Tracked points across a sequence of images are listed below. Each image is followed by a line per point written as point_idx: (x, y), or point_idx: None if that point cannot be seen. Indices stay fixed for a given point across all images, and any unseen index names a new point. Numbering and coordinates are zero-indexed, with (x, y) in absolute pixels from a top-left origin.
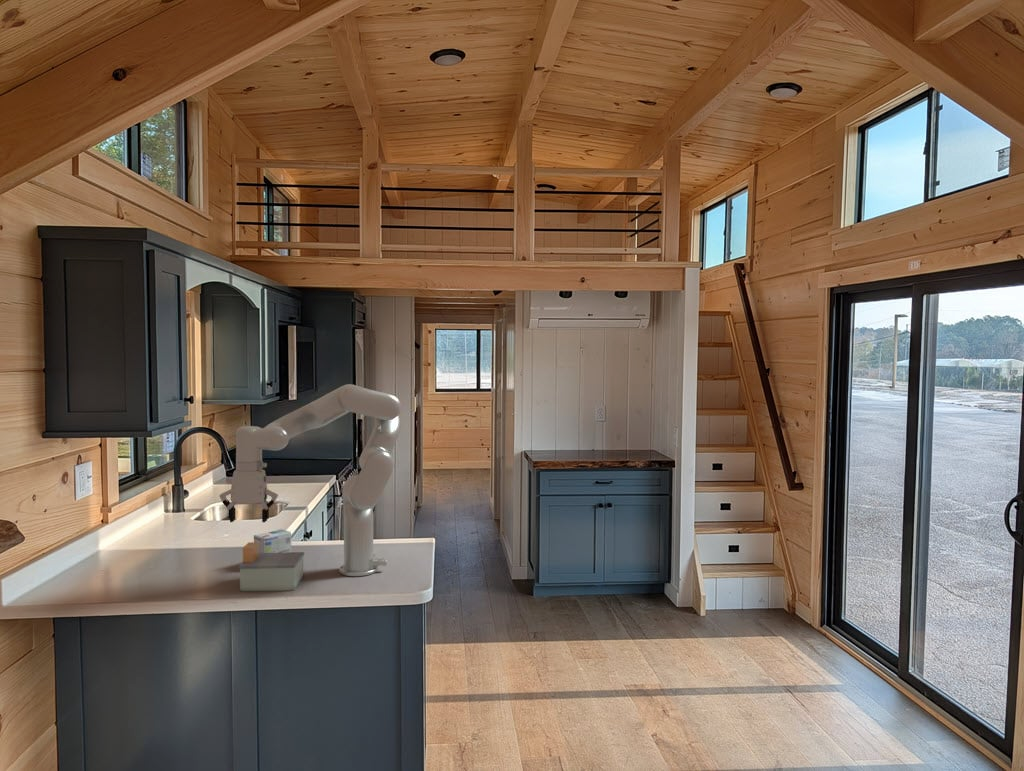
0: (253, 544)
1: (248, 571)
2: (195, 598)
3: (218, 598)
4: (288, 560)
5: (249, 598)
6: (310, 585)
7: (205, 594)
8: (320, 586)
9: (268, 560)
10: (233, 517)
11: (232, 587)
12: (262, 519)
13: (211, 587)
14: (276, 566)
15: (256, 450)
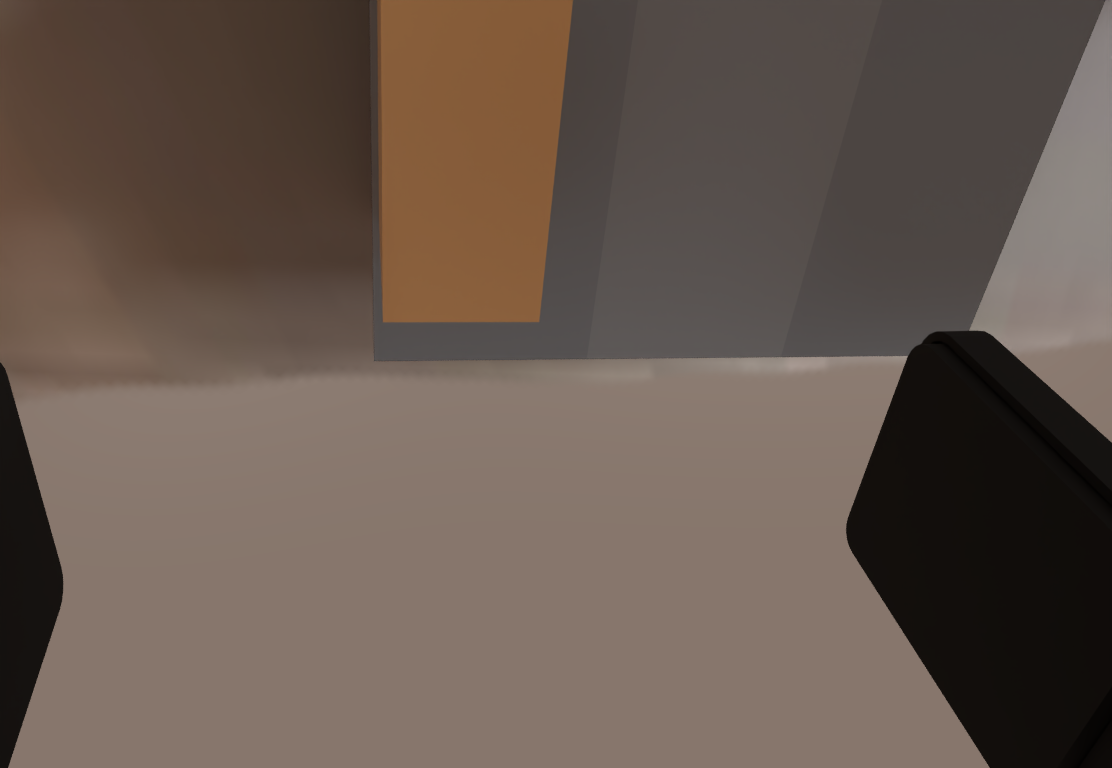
0: (512, 142)
1: None
2: (30, 356)
3: (246, 365)
4: (921, 192)
5: (504, 376)
6: None
7: (68, 269)
8: (1049, 155)
9: (692, 168)
10: (10, 603)
11: (257, 95)
12: (880, 587)
13: (11, 68)
14: (781, 353)
15: None
